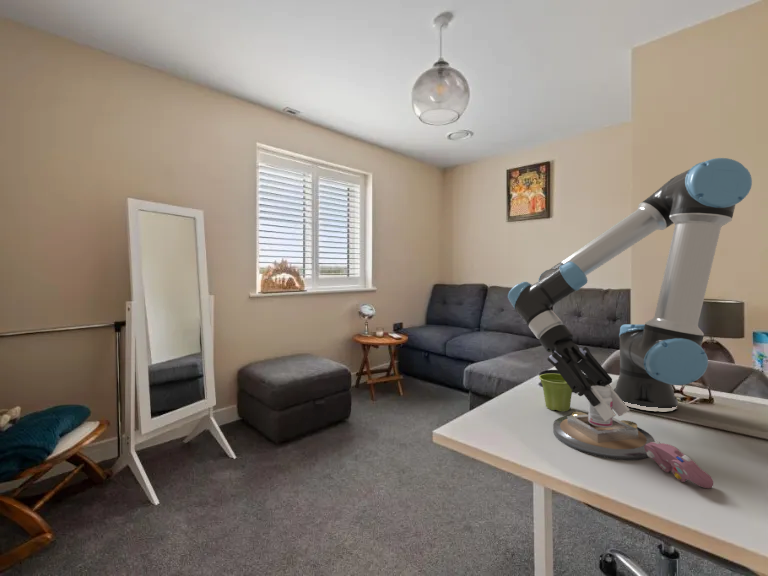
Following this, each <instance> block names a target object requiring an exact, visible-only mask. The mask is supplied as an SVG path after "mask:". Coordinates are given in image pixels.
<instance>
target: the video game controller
mask: <svg viewBox="0 0 768 576" xmlns="http://www.w3.org/2000/svg"><path fill="white" fill-rule="evenodd" d="M644 449H645V451H646V452H647V455H648V456H649V457H648V458H650V459H652V460H654V462H655V463H656V464H657V465H658V467H659V468H660V469H661V470H663V472H665V473H670V472H672V474H673V476H674V477H675V478H676V479H677V481H678V480H679V481H680V482H682V483H685V482H686V481H688V480H689V481H690V482H692V483H694V484H695V485H697V486H698V487H701V488H704V489H711V488H712V487H714V479H713V478H712V476H710V475H709V474H708V473H707V472H706V471H704V470H703V469H701V468H700V467H699V465H698V463H696V462H695V461H694V460H692V459H691V458H690V457H689V456H688V455H685V454H684V453H683V452H682V451H680V450H679V449H678V448H677V447H675V446H673V445H671V444H668V443H664V442H662V443H661V442H660V441H659V440H657V439H655V442H650V443H648V444H646V445H645V446H644Z"/></svg>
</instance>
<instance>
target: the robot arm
mask: <svg viewBox="0 0 768 576" xmlns="http://www.w3.org/2000/svg"><path fill="white" fill-rule="evenodd" d="M752 185H753V178H752V175H751V173H750V171H749V170H748V168H746V167H745V165H743V164H742V163H741V162H740V161H737V160H736V159H735V160H734V159H732V158H729V157H727V158H726V157H717V158H711V159H708V160H705V161H702V162H698V163H696V164H695V165H693V166H692V167H691V168H689V169H688V170H685V171H684V172H681V173H680V174H677V175H675V176H673V177H672V178H671V179H669V180H668V181H667V182H666V183H664V184H663V185H662V186H661V187H660V188H658V189H657V190H655V192H653V193H652V194H651V195H650V196H649V197H647V198H646V199H645V200H643V201H641V202H640V203H639V204H638V205H637V209H636V210H635V211H633V212H631V213H630V214H629V215H627V216H625V217H624V218H623V219H621V220H620V221H618V222H617V223H616V224H614V225H612V226H611V227H610V228H608V229H607V230H605V231H604V232H603V233H601V234H599V235H598V236H597V237H595V238H593V239H592V240H591V241H589V242H588V243H586V244H585V245H583V246H581V248H579V249H578V250H575V252H572V253H571V254H570V255H569V256H567V257H565V258H564V259H562V260H561V261H560V262H558V263H556V265H554V266H552V267H551V268H549V269H546V270H545V271H543V272H541V274H540V275H539V278H538V281H537V282H535V283H534V284H531V283H530V282H529V281H522V282H520V283H516V285H514V286H513V287H512V288H511V289H510V290H509V291H508V293H507V299H508V302H509V303H510V305H511V306H512V307H513V309H514V310H515V312H517V314H518V315H519V316H520V318H521V319H522V320H523V322H524V323H525V324H526V325H527V327H528V328H529V329H530V331H531V332H532V333H533V335H534V336H535V337H536V339H537V340H539V343H540V344H541V346H542V347H543V348H544V349H545V351H546V352H547V353H551V355H549V356H548V357H547V361H548V362H549V363H550V364H551V365H553V367H554V368H555V369H556V370H557V372H558V374H561V376H562V377H563V378H564V380H565V381H566V382H567V384H568V385H569V386H570V388H571V389H572V393H574V394H577V395H578V396H579V397H583V396H585V398H586V400H587V401H589V402H590V403H591V405H592V406H594V408H595V409H596V410H597V412H598V413H599V414H600V415H601V417H602V418H603V419H604V421H607V420H609V419H611V418H612V417H613V418H615V416H616V415H618V417H621V416H623V415H624V414H627V412H628V413H629V411H630V408H629V407H627V406H626V405H625V403H624V402H628V403H631V404H637V405H640V406H646V407H658V408H672V407H676V406H677V405H678V406H679V401H678V398H677V396H675V391H674V388H673V386H686V385H689V384H692V383H693V382H696V381H698V380H700V378H702V377H703V376H704V374H705V373H706V371H707V369H708V366H709V365H708V364H709V359H708V355H707V353H706V352H705V350H704V349H703V347H702V344H703V341H704V340H703V339H704V336H705V334H704V332H703V331H702V329H700V327H699V321H700V316H701V312H702V309H703V304H704V300H705V296H706V292H707V287H708V284H709V280H710V275H711V270H712V266H713V262H714V259H715V258H714V257H715V255H716V254H715V253H716V251H717V246H718V242H719V238H720V237H719V236H720V233H721V230H722V227H723V226H725V225H727V224H729V223H730V222H732V220H733V216H734V212H735V208H736V205H737V204H739V203H741V202H742V201H743V200H744V199H745V198H746V197H747V196H748V195H749V193H750V191H751V189H752ZM673 224H674V229H673V234H672V237H671V242H670V246H669V249H668V250H669V251H668V255H667V259H666V263H665V268H664V272H663V278H662V282H661V285H660V290H659V294H658V299H657V303H656V308H655V312H654V316H653V318H651V319H650V320H647V321H646V322H645V323H644V324H636V323H635V324H631V323H629V324H628V323H627V324H626V323H625V324H622V325H621V326H620V327H619V334H618V337H619V376H618V379H617V382H616V385H615V388H613V387H612V386H611V385H610V384H611V383H613V378H612V377H611V376H610V375H609V373H608V372H607V370H605V369H604V367H603V366H602V365H601V364H600V363H599V362H598V360H597V359H596V358H595V357H594V356H593V354H592V352H591V351H590V350H589V349H590V348H588V347H587V346H584V347H579V345H578V344H576V343H575V342H574V341H573V338H574V334H573V333H572V332H571V331H570V329H569V328H568V327H567V326H566V325H564V324H563V323H564V322H563V321H562V320H561V318H559V316H558V315H557V314H556V313H555V312H554V311H553V308H552V307H553V306H555V305H557V303H560V302H561V301H562V300H564V299H567V297H569V296H570V295H572V294H573V293H575V292H576V291H580V289H582V288H583V286H586V285H587V283H588V277H587V275H589V274H591V273H592V272H594V271H596V270H597V269H598V268H600V267H602V266H603V265H605V264H606V263H607V262H609V261H611V260H612V259H614V258H615V257H617V256H619V255H620V254H622V253H624V252H625V251H627V250H628V249H629V248H631V247H632V246H634V245H636V244H637V243H638V242H640V241H642V240H643V239H645V238H647V237H648V236H649V235H651V234H653V233H654V232H655V231H657V230H658V231H664V230H666V229H667V228H669V227H670V226H672V225H673ZM586 377H587V378H588V379H589V380H591V382H593V384H595V386H604V387H608V388H610V390H611V395H610V397H611V398H612V409H611V408H610V407H609V405H608V404H607V403H606V402H605V400H604V399H603V398H602V397H601V395H600V394H599V393H598V392H597V390H596V389H595V388H594V389H592V390H591V386H592V385H591V384H590V383H589V382H588V380H587V378H586ZM623 401H624V402H623Z"/></svg>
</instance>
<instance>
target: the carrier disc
mask: <svg viewBox="0 0 768 576" xmlns="http://www.w3.org/2000/svg"><path fill="white" fill-rule="evenodd" d="M588 416H589V414H587V413H585V412H582V411H573V412H572V413H571V415H563V416H561V417H559V418H557V419H555V420H554V422H553V425H552V427H553V429H552V430H553V435H554V436H555V438H556V439H557V440H559V441H560V442H561V443H563V444H564V445H566V446H567V447H569V448H571V449H574V450H575V451H579V452H581V453H584V454H588V455H592V456H593V457H600V458H605V459H611V460H617V461H618V460H620V461H621V460H622V461H636V460H643V459H647V458H650V457H649V456H648V455H647V452H646V451H645V449H644V446H645V445H646V444H648V443H650V442H655V441H656V439H655V438H654V437H653V436H652V435H651V433H649V432H647V431H646V430H644V429H642V428H641V427H638V424H637V423H636V422H634V421H631V420H627V419H626V420H624V419H622V420H620V419H618V418H615V417H612V426H611V427H609V428H602V427H597V426H594V425H592V424H590V423H589V420H588Z"/></svg>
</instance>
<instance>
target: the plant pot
mask: <svg viewBox="0 0 768 576" xmlns="http://www.w3.org/2000/svg"><path fill="white" fill-rule="evenodd" d="M538 379H539V380H540V383H541V385H542V389H543V397H544V402H545V403H544V404H545V407H546V408H547V409H549V410H550V411H555V410H556V411H558V412H568V411H570V408H571V400H572V395H573V394H572V393H573V390H572V389H571V388H570V386H569V385H568V384H567V382H566V381H565V380H564V378H563V377H562V376H561V374H560V373H544V374H540V375H539V376H538Z"/></svg>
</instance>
